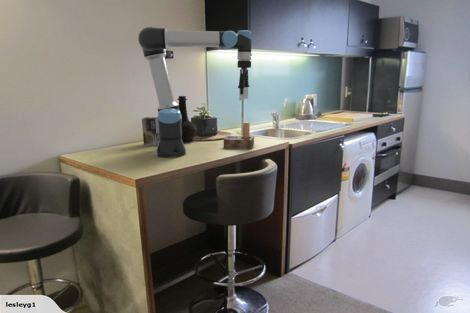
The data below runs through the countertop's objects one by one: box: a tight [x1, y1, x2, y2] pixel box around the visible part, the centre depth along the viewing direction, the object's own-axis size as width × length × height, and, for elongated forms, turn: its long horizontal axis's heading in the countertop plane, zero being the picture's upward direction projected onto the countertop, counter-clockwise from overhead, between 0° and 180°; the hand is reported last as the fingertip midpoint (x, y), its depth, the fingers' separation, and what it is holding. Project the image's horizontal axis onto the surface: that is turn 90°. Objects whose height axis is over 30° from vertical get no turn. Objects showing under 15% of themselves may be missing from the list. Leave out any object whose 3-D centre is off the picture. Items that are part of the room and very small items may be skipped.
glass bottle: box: [177, 95, 198, 143], centre depth 215 cm, size 18×18×28 cm
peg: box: [242, 121, 251, 139], centre depth 199 cm, size 4×4×14 cm
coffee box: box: [141, 116, 159, 147], centre depth 205 cm, size 9×6×16 cm
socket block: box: [223, 134, 255, 150], centre depth 201 cm, size 16×12×5 cm
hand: (243, 99), depth 194 cm, fingers open, 13 cm apart
